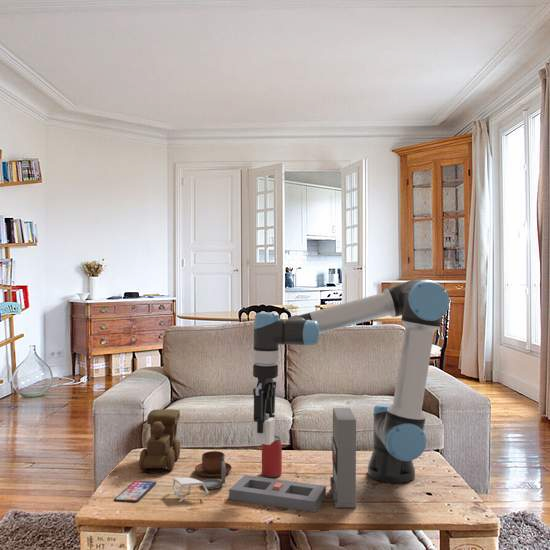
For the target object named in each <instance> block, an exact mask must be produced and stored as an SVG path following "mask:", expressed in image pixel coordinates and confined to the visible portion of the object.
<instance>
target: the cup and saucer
mask: <svg viewBox="0 0 550 550" xmlns="http://www.w3.org/2000/svg"><path fill="white" fill-rule="evenodd" d="M224 453H225V452H222V451H219V450H217V451H215V450H213V451H206V452H204V453H202V455H201V463H199V464H197V465H196V466H195V467H194V471H195V472H196V473H197V474H198V475H199V476H202V477H208V478H217V477H221V462H222V456H223V454H224ZM231 470H232V465H231V464H230V463H227V462H225V475H227V474H229V472H231Z"/></svg>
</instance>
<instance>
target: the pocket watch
mask: <svg viewBox="0 0 550 550" xmlns="http://www.w3.org/2000/svg"><path fill="white" fill-rule="evenodd" d="M223 453H224V454H223V456H222V462H221V476H220V477H221V479H218V478H208V479H204V480H202V481H201V482H203V483H204V485H205V486H206V488H207V490H209V489H210V490H212V489H218V488H220V487H222V486H223V485H224V484H225V483H226V474H225V463H226V460H225V455H226V454H225V452H223ZM200 486H201V487H202V488H204V487H203V485H200Z"/></svg>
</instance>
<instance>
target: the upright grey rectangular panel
mask: <svg viewBox="0 0 550 550" xmlns="http://www.w3.org/2000/svg"><path fill="white" fill-rule="evenodd" d="M352 411H353V410H352V409H351V408H350V407H333V408H332V436H331V437H332V440H331V441H332V443H331V444H332V447H331V448H332V449H331V450H332V453H331V454H332V455H331V457H332V458H331V459H332V476H331V475H329V477H330V478H329V479H330V482H329V483H330V484H329V486H330V492H331V495H332V499H333V503H334V507H335V508H336V509H339V508H352V509H356V508H357V501H356V500H357V497H356V496H357V490H356V489H357V478H356V477H357V473H356V472H357V419H356V417H355V415H354V413H353V412H352Z"/></svg>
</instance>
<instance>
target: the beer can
mask: <svg viewBox="0 0 550 550" xmlns="http://www.w3.org/2000/svg"><path fill="white" fill-rule="evenodd" d="M282 448H283V445H282V441H281V437H280V436H278V435H274V442H272V443H271V444H270V445H266V444H261V474H262V476H264V477H265V478H278V477H279V476H281V475H282V474H283V473H282V472H283V471H282V470H283V468H282V467H283V466H282V465H283V464H282V461H283V460H282V459H283V450H282Z"/></svg>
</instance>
